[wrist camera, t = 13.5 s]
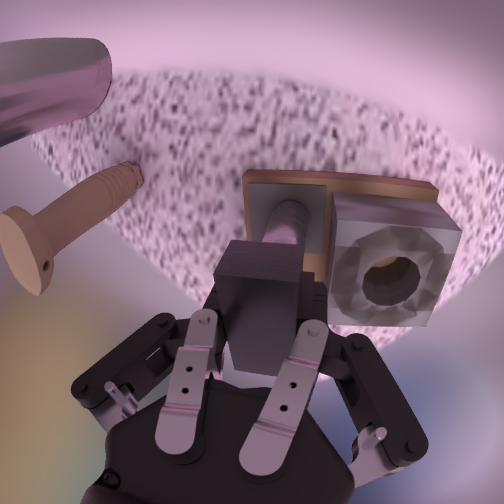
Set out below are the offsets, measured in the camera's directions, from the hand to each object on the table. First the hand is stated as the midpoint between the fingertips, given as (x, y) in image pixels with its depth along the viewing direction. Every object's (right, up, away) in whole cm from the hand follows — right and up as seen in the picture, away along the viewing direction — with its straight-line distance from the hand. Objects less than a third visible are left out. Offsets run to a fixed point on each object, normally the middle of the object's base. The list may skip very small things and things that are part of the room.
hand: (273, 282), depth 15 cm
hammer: (+2, +4, +6) cm, 7 cm away
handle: (-13, +9, +10) cm, 19 cm away
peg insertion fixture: (+7, +2, +9) cm, 12 cm away
